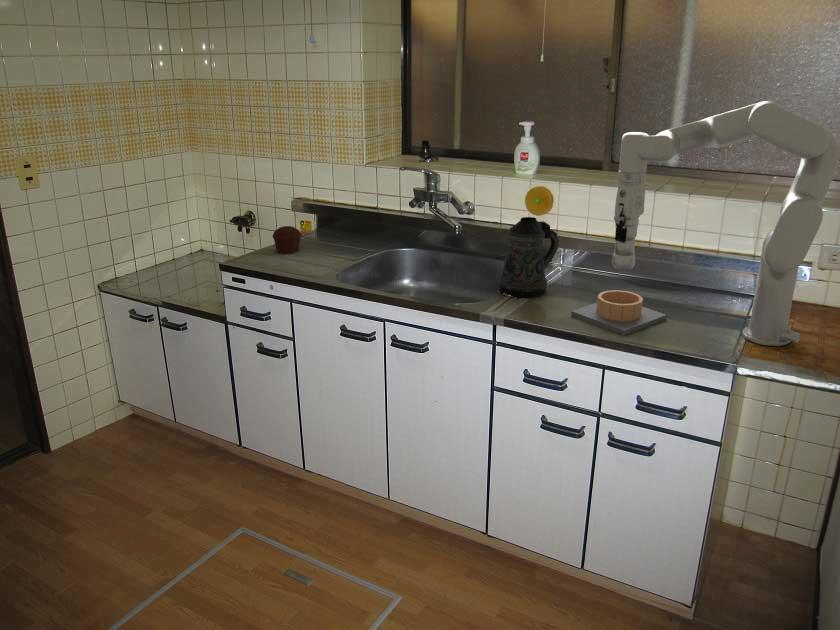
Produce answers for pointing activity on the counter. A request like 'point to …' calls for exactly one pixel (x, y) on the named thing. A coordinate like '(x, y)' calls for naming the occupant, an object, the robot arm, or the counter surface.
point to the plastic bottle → (626, 247)
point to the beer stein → (527, 259)
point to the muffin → (287, 240)
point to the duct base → (619, 325)
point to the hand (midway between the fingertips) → (625, 238)
